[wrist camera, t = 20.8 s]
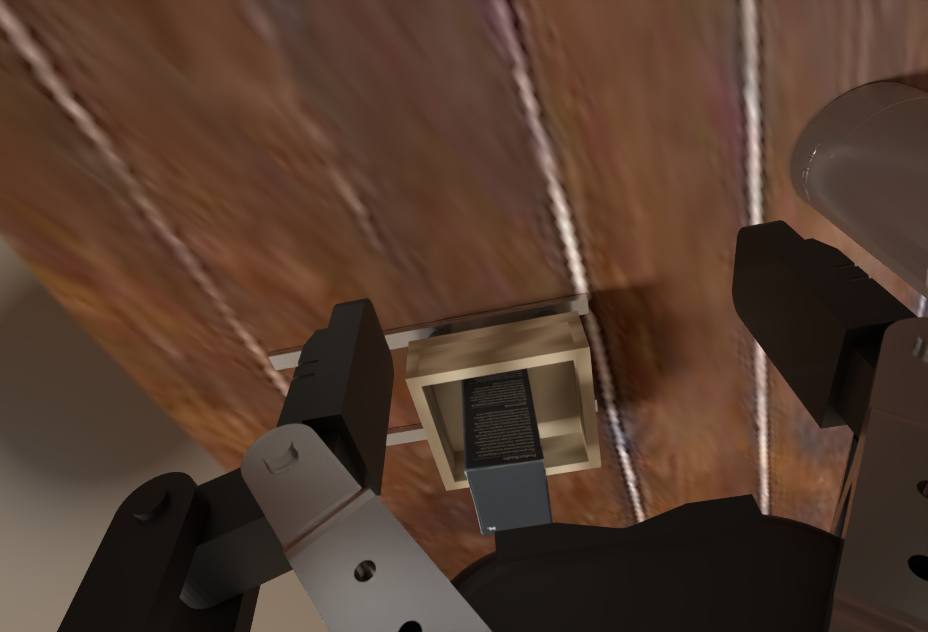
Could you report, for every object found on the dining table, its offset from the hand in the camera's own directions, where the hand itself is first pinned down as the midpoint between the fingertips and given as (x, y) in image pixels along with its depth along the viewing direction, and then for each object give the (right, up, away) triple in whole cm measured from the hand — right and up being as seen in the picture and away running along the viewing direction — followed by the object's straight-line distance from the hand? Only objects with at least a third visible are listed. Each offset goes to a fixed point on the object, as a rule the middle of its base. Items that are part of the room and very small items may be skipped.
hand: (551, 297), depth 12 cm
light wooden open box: (+2, -5, +39) cm, 39 cm away
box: (+1, -7, +36) cm, 37 cm away
